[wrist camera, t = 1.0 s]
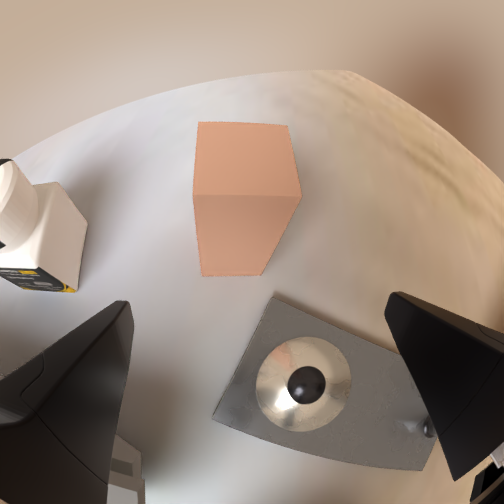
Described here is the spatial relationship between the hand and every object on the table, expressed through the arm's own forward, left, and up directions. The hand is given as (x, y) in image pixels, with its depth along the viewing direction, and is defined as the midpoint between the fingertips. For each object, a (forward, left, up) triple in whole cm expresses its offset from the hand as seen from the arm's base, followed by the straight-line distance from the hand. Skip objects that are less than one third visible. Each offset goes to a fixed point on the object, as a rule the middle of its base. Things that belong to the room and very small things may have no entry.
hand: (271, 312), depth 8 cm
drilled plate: (-1, -12, -14) cm, 19 cm away
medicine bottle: (-2, +19, -14) cm, 24 cm away
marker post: (+7, +4, -14) cm, 16 cm away
